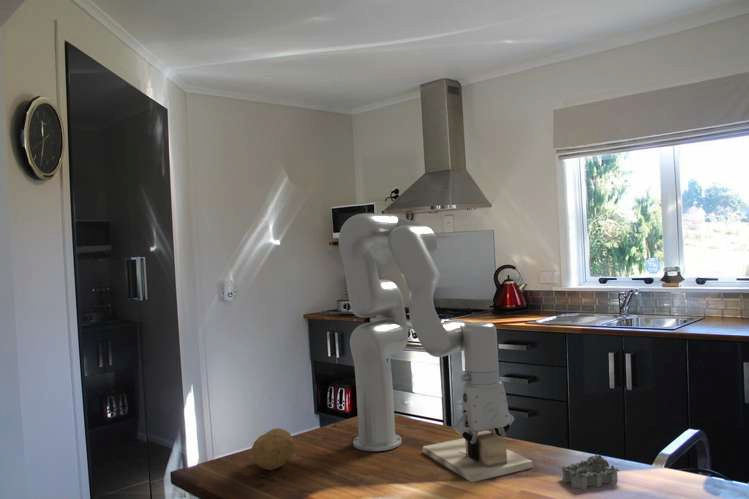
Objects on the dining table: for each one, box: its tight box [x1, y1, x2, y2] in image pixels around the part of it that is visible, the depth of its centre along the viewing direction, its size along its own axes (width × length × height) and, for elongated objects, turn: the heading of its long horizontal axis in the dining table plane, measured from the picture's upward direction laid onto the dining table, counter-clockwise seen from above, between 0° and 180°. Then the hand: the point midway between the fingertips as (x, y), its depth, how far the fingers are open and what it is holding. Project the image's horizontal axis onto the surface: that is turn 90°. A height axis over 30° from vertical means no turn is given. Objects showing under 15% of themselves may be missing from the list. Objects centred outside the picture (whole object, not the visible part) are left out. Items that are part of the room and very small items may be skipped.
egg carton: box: [559, 454, 621, 490], centre depth 123 cm, size 11×8×4 cm
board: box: [422, 437, 534, 483], centre depth 138 cm, size 22×16×2 cm
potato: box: [251, 428, 296, 471], centre depth 141 cm, size 10×14×8 cm
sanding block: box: [465, 430, 507, 468], centre depth 134 cm, size 9×5×6 cm, turn 23°
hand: (486, 455), depth 134 cm, fingers open, 6 cm apart
